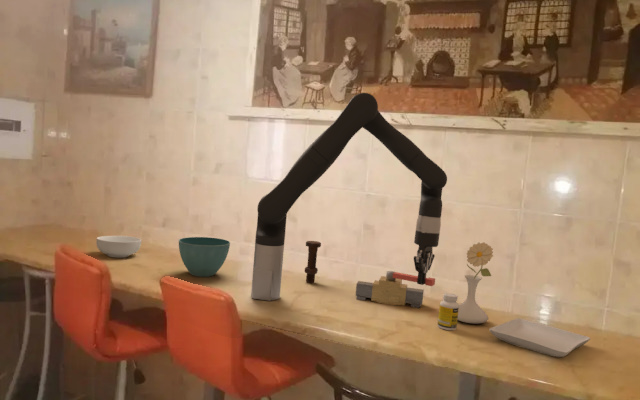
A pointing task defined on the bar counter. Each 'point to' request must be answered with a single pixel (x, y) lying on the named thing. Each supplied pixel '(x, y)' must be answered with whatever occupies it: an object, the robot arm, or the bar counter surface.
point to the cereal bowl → (118, 245)
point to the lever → (408, 277)
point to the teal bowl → (203, 254)
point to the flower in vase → (475, 284)
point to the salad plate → (538, 337)
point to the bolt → (312, 260)
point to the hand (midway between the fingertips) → (420, 284)
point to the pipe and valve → (389, 292)
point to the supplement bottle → (448, 312)
